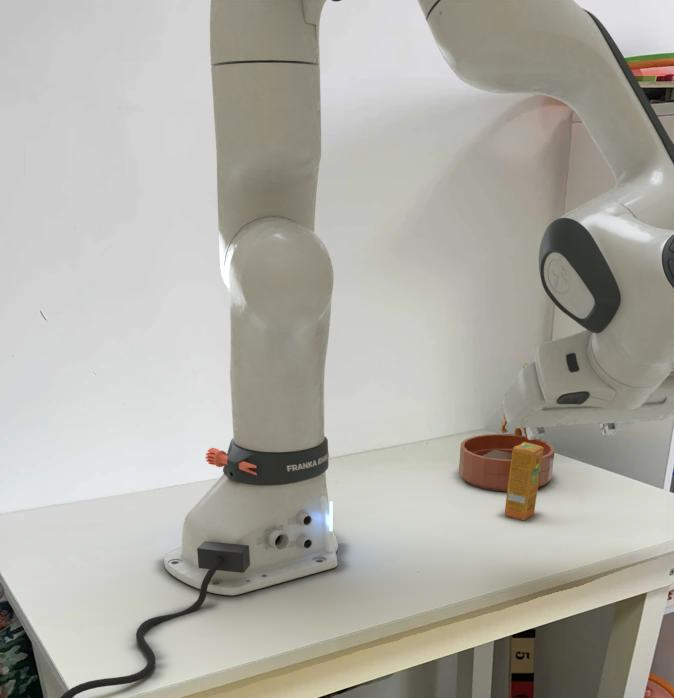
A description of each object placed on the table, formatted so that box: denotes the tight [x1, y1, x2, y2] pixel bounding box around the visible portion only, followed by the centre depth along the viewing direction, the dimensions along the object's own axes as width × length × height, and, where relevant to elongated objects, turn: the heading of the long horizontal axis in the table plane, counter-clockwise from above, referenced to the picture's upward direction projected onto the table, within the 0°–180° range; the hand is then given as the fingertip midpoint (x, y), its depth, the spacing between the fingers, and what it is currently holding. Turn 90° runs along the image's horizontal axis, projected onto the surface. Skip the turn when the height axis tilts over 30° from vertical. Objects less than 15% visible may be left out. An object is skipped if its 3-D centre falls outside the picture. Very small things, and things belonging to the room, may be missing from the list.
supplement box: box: [504, 442, 544, 521], centre depth 120 cm, size 3×3×10 cm
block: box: [483, 450, 512, 460], centre depth 133 cm, size 4×4×4 cm
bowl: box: [458, 433, 555, 492], centre depth 136 cm, size 14×14×5 cm
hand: (569, 432), depth 104 cm, fingers open, 8 cm apart
